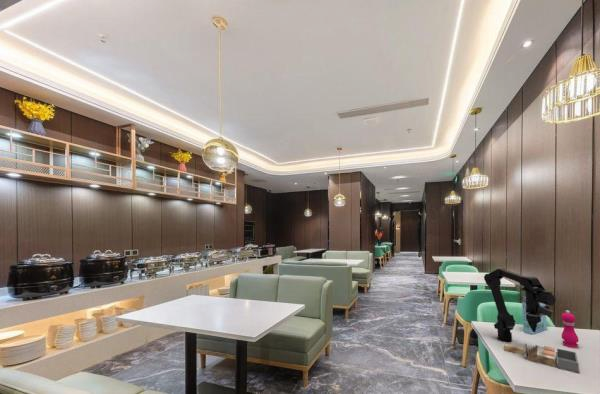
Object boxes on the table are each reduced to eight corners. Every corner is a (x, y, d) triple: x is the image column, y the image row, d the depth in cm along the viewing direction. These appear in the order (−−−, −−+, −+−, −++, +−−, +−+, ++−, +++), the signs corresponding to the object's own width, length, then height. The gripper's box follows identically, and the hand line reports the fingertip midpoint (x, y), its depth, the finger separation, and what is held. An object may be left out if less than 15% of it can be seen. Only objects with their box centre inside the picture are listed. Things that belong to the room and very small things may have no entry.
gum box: (538, 327, 194) (536, 293, 196) (547, 330, 190) (545, 294, 192) (523, 332, 186) (520, 296, 188) (532, 335, 181) (529, 298, 183)
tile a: (544, 354, 146) (544, 352, 146) (544, 352, 149) (544, 349, 149) (554, 357, 143) (554, 354, 143) (554, 354, 146) (554, 351, 146)
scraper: (503, 353, 156) (502, 346, 156) (505, 346, 165) (505, 339, 165) (526, 359, 149) (525, 351, 150) (527, 351, 158) (527, 344, 159)
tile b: (544, 350, 150) (544, 348, 150) (544, 348, 153) (544, 345, 153) (554, 353, 148) (554, 350, 148) (554, 350, 151) (554, 348, 151)
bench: (527, 360, 148) (527, 352, 149) (528, 351, 159) (528, 343, 159) (556, 367, 141) (555, 358, 141) (555, 357, 152) (554, 349, 152)
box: (557, 367, 140) (556, 358, 141) (556, 356, 152) (555, 348, 152) (579, 373, 135) (578, 363, 136) (576, 361, 147) (575, 352, 147)
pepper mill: (582, 349, 161) (579, 312, 163) (567, 348, 162) (564, 311, 164) (573, 343, 168) (570, 308, 170) (559, 342, 169) (556, 308, 171)
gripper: (552, 307, 146) (554, 338, 145) (550, 299, 161) (551, 327, 160) (525, 303, 153) (526, 333, 152) (524, 295, 168) (526, 323, 166)
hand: (533, 329), depth 157 cm, fingers open, 9 cm apart
